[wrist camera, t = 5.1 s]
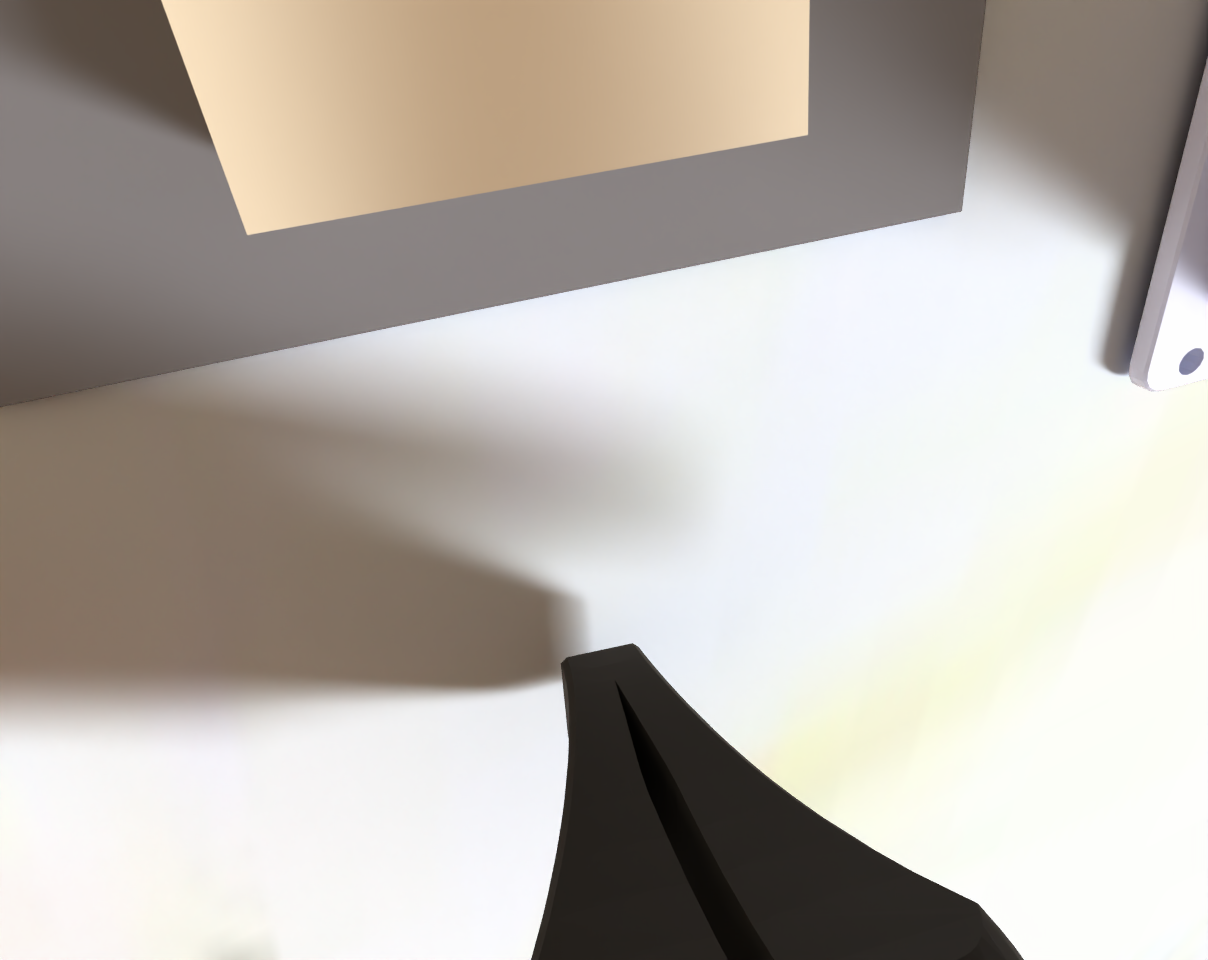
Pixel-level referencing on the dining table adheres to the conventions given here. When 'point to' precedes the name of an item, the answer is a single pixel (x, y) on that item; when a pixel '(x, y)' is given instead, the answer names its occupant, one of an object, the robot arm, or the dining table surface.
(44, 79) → the mat
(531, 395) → the dining table surface
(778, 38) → the beech block
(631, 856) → the robot arm
